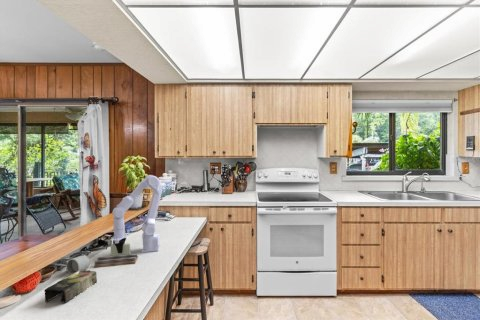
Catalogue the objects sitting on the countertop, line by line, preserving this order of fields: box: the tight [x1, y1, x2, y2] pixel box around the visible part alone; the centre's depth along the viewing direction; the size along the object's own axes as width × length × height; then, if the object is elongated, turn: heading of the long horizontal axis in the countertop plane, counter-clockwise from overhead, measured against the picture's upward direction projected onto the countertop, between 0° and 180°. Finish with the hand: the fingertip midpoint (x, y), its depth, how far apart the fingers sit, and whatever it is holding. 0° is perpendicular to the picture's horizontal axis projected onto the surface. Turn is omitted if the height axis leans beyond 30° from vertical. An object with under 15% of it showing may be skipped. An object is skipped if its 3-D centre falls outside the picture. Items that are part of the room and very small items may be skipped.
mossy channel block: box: [44, 269, 98, 303], centre depth 126 cm, size 20×10×6 cm, turn 169°
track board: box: [93, 253, 139, 269], centre depth 158 cm, size 20×9×2 cm, turn 99°
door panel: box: [110, 243, 131, 256], centre depth 168 cm, size 10×2×6 cm, turn 99°
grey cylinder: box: [65, 255, 91, 275], centre depth 148 cm, size 11×8×8 cm
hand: (120, 252), depth 168 cm, fingers closed on door panel, 2 cm apart
